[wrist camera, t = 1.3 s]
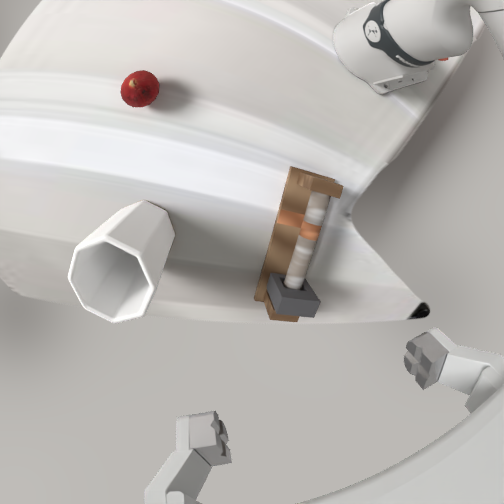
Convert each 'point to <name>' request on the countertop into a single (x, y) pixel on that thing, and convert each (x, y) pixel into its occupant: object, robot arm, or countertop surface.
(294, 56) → the countertop surface
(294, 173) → the pipe rack
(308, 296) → the collar
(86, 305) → the cup
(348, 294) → the countertop surface
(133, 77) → the onion
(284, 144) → the countertop surface
